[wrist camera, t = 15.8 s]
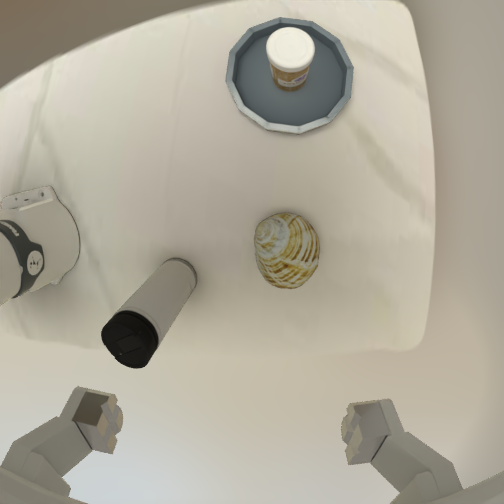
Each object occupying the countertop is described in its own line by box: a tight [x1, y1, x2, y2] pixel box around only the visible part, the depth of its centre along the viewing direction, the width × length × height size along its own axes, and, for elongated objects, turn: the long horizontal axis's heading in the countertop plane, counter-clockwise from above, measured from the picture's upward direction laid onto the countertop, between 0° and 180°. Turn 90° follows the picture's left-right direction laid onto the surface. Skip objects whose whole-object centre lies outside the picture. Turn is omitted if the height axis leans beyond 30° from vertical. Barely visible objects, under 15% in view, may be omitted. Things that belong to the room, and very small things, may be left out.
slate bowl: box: [226, 17, 353, 135], centre depth 36 cm, size 16×16×4 cm
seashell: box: [254, 213, 320, 289], centre depth 43 cm, size 10×10×10 cm
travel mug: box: [101, 258, 197, 368], centre depth 39 cm, size 6×7×20 cm
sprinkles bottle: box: [266, 27, 315, 92], centre depth 30 cm, size 5×5×14 cm
